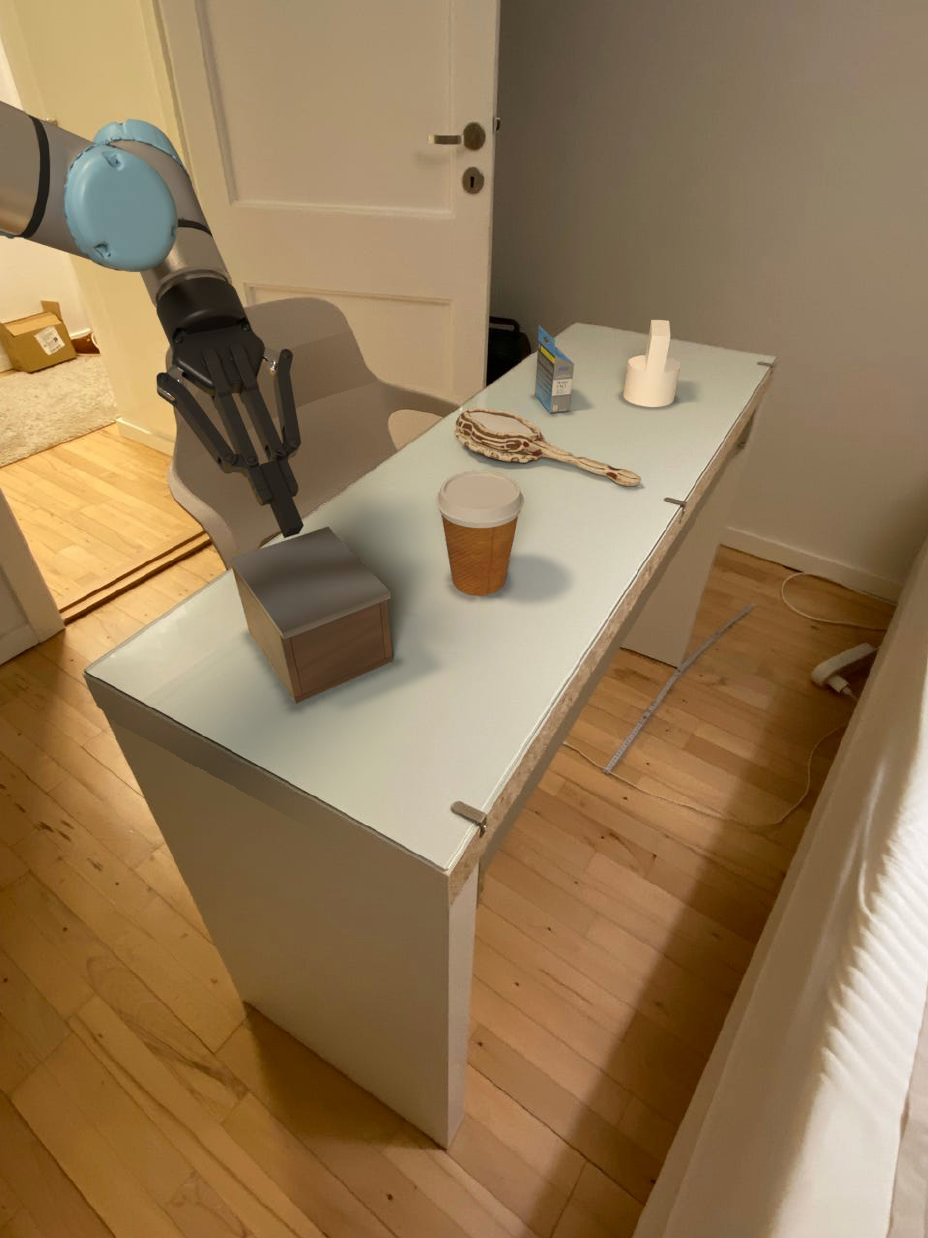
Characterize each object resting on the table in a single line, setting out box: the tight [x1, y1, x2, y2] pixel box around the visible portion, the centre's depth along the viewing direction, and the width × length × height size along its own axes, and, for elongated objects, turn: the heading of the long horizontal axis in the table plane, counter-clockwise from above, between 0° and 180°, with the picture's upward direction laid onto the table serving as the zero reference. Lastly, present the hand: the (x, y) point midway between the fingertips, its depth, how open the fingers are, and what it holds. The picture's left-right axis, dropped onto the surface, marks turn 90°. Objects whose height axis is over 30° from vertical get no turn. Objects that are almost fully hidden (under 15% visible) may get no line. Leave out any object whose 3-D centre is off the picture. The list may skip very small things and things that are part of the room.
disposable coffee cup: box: [435, 469, 525, 596], centre depth 77 cm, size 10×10×12 cm
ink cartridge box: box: [534, 324, 575, 414], centre depth 117 cm, size 9×4×12 cm, turn 13°
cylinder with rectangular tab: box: [622, 319, 682, 408], centre depth 119 cm, size 9×9×12 cm
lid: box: [229, 526, 392, 640], centre depth 65 cm, size 14×11×1 cm
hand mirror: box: [453, 406, 642, 487], centre depth 101 cm, size 11×6×30 cm
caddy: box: [231, 565, 394, 704], centre depth 69 cm, size 13×11×9 cm
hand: (293, 531), depth 63 cm, fingers closed
